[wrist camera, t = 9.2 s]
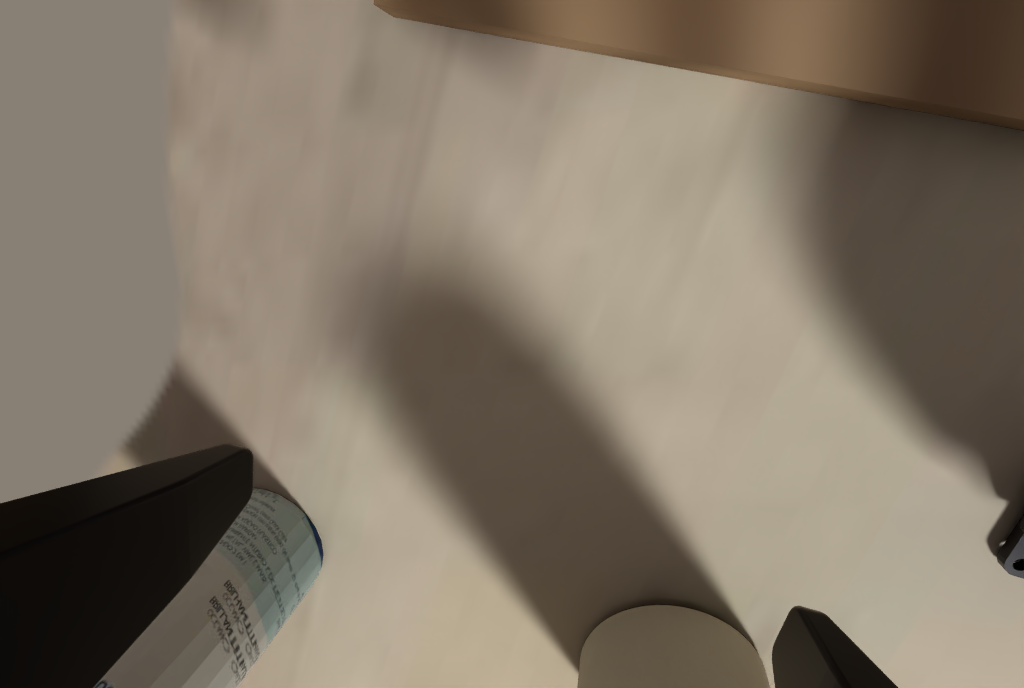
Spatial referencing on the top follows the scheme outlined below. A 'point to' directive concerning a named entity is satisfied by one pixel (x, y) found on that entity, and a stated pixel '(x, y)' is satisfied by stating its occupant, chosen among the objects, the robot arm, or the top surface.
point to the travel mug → (668, 652)
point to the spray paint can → (228, 603)
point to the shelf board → (787, 43)
